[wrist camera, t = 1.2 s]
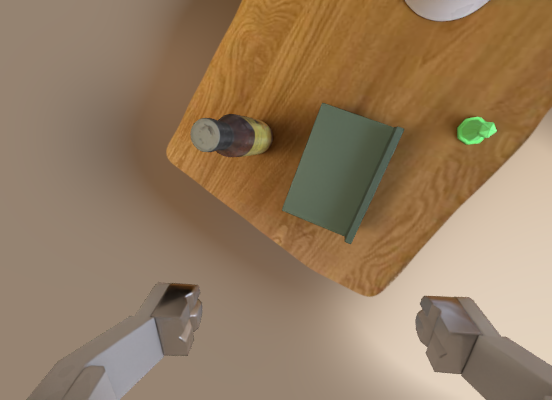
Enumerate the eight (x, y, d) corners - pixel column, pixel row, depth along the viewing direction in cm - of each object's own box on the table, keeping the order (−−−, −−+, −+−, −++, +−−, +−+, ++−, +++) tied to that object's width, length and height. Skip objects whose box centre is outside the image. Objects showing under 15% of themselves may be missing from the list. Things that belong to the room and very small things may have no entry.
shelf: (325, 108, 49) (320, 99, 39) (392, 131, 47) (404, 128, 38) (289, 201, 53) (278, 214, 44) (349, 226, 52) (350, 244, 42)
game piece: (492, 135, 44) (514, 134, 38) (463, 149, 45) (481, 150, 39) (479, 111, 44) (500, 106, 38) (451, 126, 45) (467, 123, 39)
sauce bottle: (273, 118, 51) (231, 104, 32) (275, 153, 52) (236, 159, 33) (239, 121, 52) (180, 109, 34) (241, 155, 54) (186, 162, 35)
